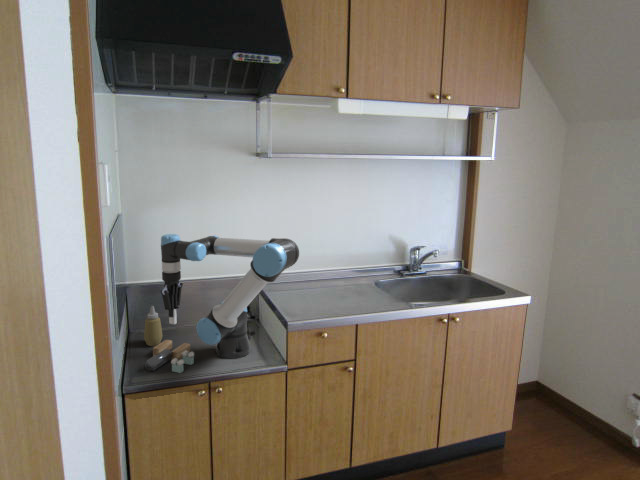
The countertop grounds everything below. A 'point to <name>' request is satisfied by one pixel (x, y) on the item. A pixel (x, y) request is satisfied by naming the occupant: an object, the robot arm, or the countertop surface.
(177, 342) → the countertop surface
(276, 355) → the countertop surface
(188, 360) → the cradle
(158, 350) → the wooden bars with cylinder
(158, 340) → the squeeze bottle
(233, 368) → the countertop surface
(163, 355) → the dark grey rounded block
